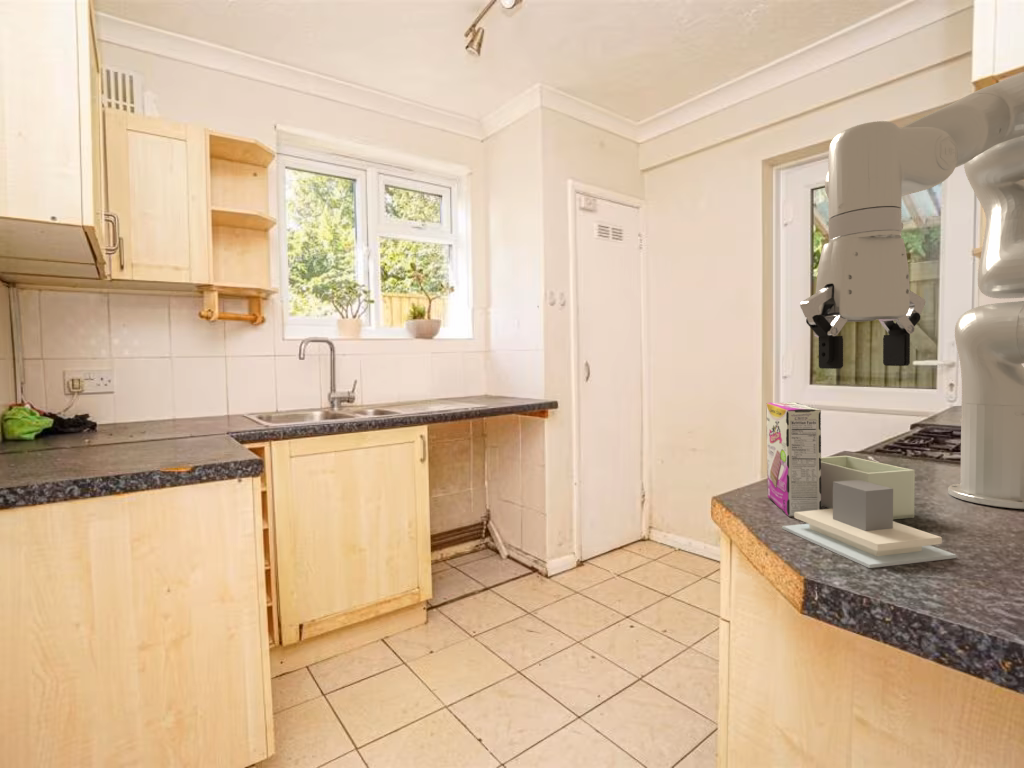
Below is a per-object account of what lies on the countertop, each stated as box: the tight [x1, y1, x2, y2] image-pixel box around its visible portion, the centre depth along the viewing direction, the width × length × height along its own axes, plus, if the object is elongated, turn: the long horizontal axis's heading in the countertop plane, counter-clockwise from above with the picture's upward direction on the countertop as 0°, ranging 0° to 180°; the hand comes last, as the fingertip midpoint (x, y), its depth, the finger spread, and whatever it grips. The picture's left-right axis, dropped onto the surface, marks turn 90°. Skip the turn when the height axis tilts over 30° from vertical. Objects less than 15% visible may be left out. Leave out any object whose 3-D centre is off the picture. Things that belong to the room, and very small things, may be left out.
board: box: [781, 523, 957, 569], centre depth 66 cm, size 12×14×1 cm
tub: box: [821, 455, 916, 520], centre depth 80 cm, size 8×12×7 cm, turn 11°
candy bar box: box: [765, 401, 822, 518], centre depth 81 cm, size 11×5×16 cm, turn 168°
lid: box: [793, 480, 943, 556], centre depth 66 cm, size 9×13×7 cm
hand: (863, 367), depth 65 cm, fingers open, 9 cm apart
